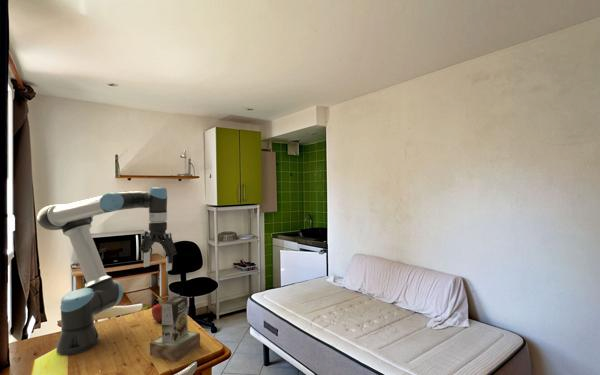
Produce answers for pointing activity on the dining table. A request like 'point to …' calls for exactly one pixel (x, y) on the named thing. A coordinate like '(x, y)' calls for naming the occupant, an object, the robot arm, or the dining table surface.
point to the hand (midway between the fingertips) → (157, 268)
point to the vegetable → (157, 311)
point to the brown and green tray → (175, 347)
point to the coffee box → (174, 319)
